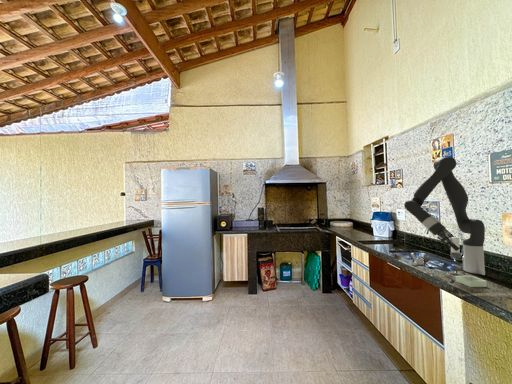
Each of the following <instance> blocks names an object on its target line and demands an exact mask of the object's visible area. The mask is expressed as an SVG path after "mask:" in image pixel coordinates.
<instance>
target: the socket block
mask: <svg viewBox="0 0 512 384" xmlns="http://www.w3.org/2000/svg"><path fill="white" fill-rule="evenodd" d="M455 276H466V275H465V274H462V273H459V272H444V277H445V278H448V279H449V280H453V281H454V282H456V279H455Z"/></svg>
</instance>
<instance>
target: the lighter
mask: <svg viewBox="0 0 512 384" xmlns="http://www.w3.org/2000/svg"><path fill="white" fill-rule="evenodd" d="M410 255H411V257H412V259H413V260H415V265H419V266H424V258H423V257H421V256H417V257H416V255H415V253H414V252H410Z"/></svg>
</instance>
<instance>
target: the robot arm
mask: <svg viewBox="0 0 512 384" xmlns="http://www.w3.org/2000/svg"><path fill="white" fill-rule="evenodd" d="M456 167H457V160H456V159H455V158H454V157H451V156H440V157H437V158H435V159H434V160H433V168H434V172H433V173H432V174H431V175H430V177H428V178H427V179H426V180H425V181H423V182H422V183H421V184H420V185H419V187H418V188H417V189H416V191H415V192H414V193H413V197H412V199H411V200H409V199H408V200H406V201H404V209H405V210H406V211H407V212H409V213H410V214H411V215H413V217H414V218H416V219H417V220H418V221H419V222H420V223H421V225H423V226H424V227H425V228H426V230H428V231H429V232H430V233H431V234H432V235H433V236H436V238H437V239H438V240H439V241H441V242H442V243H443V244H445V245H446V246H449V247H450V248H451V247H452V248H453V249H454V250H455V251H457V250H459V249H460V251H461V250H462V249H463V251H462V252H463V256H462V255H461V258H462V259H461V260H462V270H463V271H464V272H467V273H469V274H475V275H476V274H477V275H482V276H485V275H486V270H485V269H486V268H485V252H484V251H485V250H484V248H485V247H484V243H485V239H486V238H485V237H486V234H485V233H486V227H485V224H484V221H482V220H481V219H475V218H474V219H473V218H470V217H468V213H467V207H468V204H469V196H468V193H467V192H466V188H465V187H464V186H463V184H461V182H460V181H459V180H458V179H457V178H456V176H455V175H454V173H453V171H454V170H455V168H456ZM439 183H441V184H442V186H443V189H444V191H445V194H446V196H447V198H448V201H449V203H450V206H451V208H452V211H453V214H454V216H455V220H456V224H457V227H458V228H459V231H460V232H462V233H463V234H467V235H469V238H466V239H463V240H462V245H461V243H459V245H460V248H459V247H458V246H457V245H455V244H454V243H453V242H452V241H451V238H450V237H455V235H454V234H452V232H448V231H446V226H445V225H444V224H442V222H440V221H439V220H438V219H437V218H435V217H433V215H431V213H429V212H428V211H426V210H425V209H424V208H423V207H422V205H424V202H425V201H426V199H427V198H428V197H429V195H430V194H432V192H433V191H434V189H435V188H436V187H437V186H438V185H439Z"/></svg>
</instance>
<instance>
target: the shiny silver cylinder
mask: <svg viewBox="0 0 512 384" xmlns="http://www.w3.org/2000/svg"><path fill="white" fill-rule="evenodd" d="M450 238H451V241H452V242H453V243H454V244H455V245H457V246H458V247H459V248H460V245H461V244H460V237H455V236H454V237H450ZM459 244H460V245H459ZM460 251H461V250H460V249H459V250H457V251H455V250H454V249H453V248H452V247H451V246H450V253H449V254H450V258H453V259H461V258H462V255H461V252H460Z"/></svg>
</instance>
